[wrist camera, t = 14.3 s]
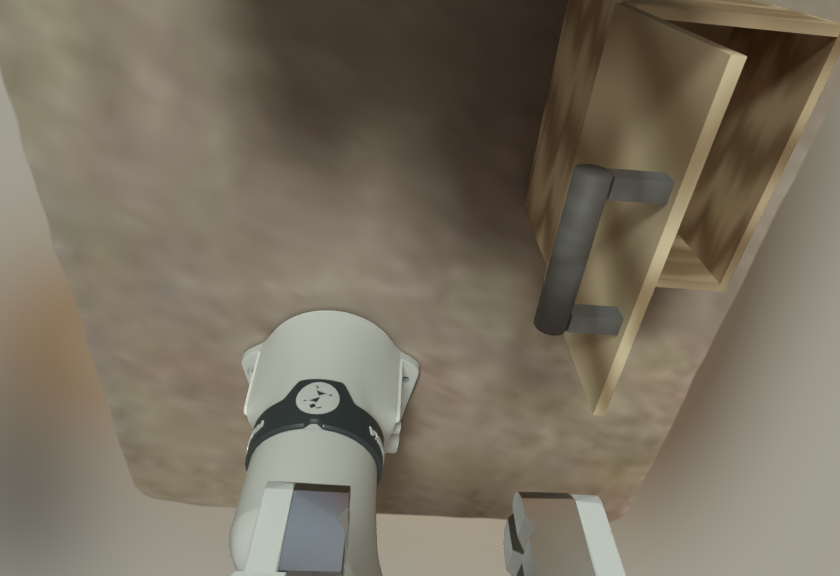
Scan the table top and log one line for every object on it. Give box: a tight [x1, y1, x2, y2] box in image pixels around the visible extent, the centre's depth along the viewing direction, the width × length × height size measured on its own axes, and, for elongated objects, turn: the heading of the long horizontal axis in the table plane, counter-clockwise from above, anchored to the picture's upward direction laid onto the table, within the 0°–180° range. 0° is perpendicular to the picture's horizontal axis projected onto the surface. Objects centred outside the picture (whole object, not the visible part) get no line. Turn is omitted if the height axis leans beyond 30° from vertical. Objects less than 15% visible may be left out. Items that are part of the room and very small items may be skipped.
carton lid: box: [534, 2, 747, 415], centre depth 30 cm, size 18×13×5 cm
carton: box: [524, 0, 840, 292], centre depth 41 cm, size 18×13×12 cm
